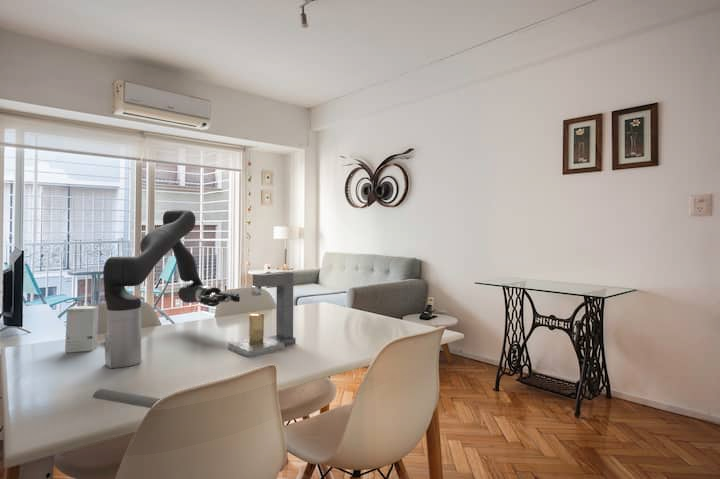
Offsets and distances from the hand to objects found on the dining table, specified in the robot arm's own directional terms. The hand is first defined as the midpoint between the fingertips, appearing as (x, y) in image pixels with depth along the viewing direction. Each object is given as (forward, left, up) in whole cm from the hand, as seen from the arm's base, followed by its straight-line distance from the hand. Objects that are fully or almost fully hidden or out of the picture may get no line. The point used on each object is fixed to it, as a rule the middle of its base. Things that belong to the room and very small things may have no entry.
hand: (227, 300), depth 154 cm
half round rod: (-42, -32, -16) cm, 55 cm away
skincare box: (-41, +25, -16) cm, 51 cm away
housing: (+3, -15, -14) cm, 20 cm away
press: (+7, -12, -16) cm, 21 cm away
